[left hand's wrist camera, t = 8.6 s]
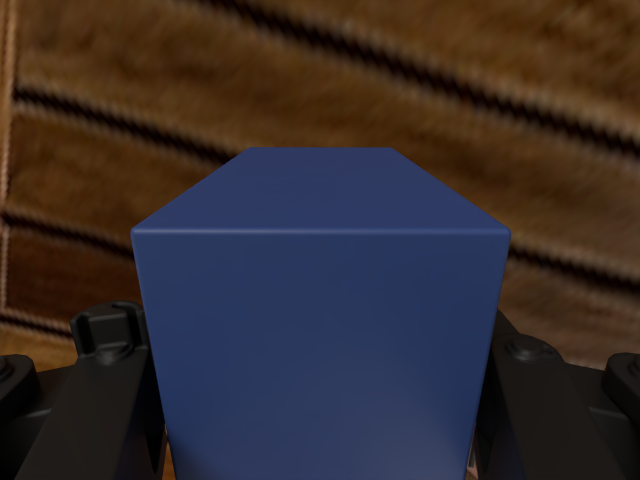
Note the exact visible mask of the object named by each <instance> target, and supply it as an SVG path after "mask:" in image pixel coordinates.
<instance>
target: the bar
mask: <svg viewBox="0 0 640 480" xmlns="http://www.w3.org/2000/svg"><path fill="white" fill-rule="evenodd" d="M131 240H132V246H133V251H134V257H135V262H136V267H137V273H138V278H139V284H140V289H141V294H142V300H143V305H144V311H145V316H146V321H147V327H148V332H149V338H150V343H151V348H152V354H153V359H154V365H155V370H156V375H157V381H158V386H159V392H160V397H161V402H162V408H163V413H164V419H165V424H166V429H167V435H168V440H169V446H170V451H171V456H172V462H173V467H174V473H175V478H176V480H465V475H466V470H467V465H468V460H469V454H470V449H471V444H472V439H473V433H474V428H475V423H476V418H477V413H478V407H479V402H480V397H481V392H482V386H483V381H484V376H485V371H486V365H487V360H488V355H489V350H490V344H491V339H492V334H493V329H494V323H495V318H496V313H497V308H498V303H499V297H500V292H501V287H502V282H503V276H504V271H505V266H506V261H507V255H508V250H509V245H510V240H511V231H510V229H509V228H507V227H506V226H505V225H503V224H502V223H500V222H499V221H497V220H496V219H494V218H493V217H491V216H490V215H489V214H487V213H486V212H484V211H483V210H481V209H480V208H478V207H477V206H475V205H474V204H473V203H471V202H470V201H468V200H467V199H465V198H464V197H462V196H461V195H459V194H458V193H457V192H455V191H454V190H452V189H451V188H449V187H448V186H446V185H445V184H444V183H442V182H441V181H439V180H438V179H436V178H435V177H433V176H432V175H430V174H429V173H428V172H426V171H425V170H423V169H422V168H420V167H419V166H417V165H416V164H414V163H413V162H412V161H410V160H409V159H407V158H406V157H404V156H403V155H401V154H400V153H398V152H397V151H396V150H394V149H393V148H325V147H250V148H248V149H246V150H245V151H244V152H242V153H241V154H239V155H238V156H236V157H235V158H233V159H232V160H230V161H229V162H228V163H226V164H225V165H223V166H222V167H220V168H219V169H217V170H216V171H215V172H213V173H212V174H210V175H209V176H207V177H206V178H204V179H203V180H201V181H200V182H199V183H197V184H196V185H194V186H193V187H191V188H190V189H188V190H187V191H186V192H184V193H183V194H181V195H180V196H178V197H177V198H175V199H174V200H172V201H171V202H170V203H168V204H167V205H165V206H164V207H162V208H161V209H159V210H158V211H157V212H155V213H154V214H152V215H151V216H149V217H148V218H146V219H145V220H143V221H142V222H141V223H139V224H138V225H136V226H135V227H133V228H132V230H131Z"/></svg>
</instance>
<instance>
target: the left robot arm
mask: <svg viewBox="0 0 640 480" xmlns="http://www.w3.org/2000/svg"><path fill="white" fill-rule="evenodd" d="M69 324H70V328H71V331H72V335H73V339H74V342H75V346H76V350H77V353H78V359H77V361H76V363H75V365H71V366H67V367H62V368H57V369H52V370H47V371H42V372H36V369H35V366H34V363H33V360H32V359H31V358H29V357H28V356H26V355H18V354H13V355H5V356H0V480H162V476H163V469H164V461H165V454H166V447H167V436H166V430H165V419H164V413H163V408H162V402H161V397H160V392H159V386H158V381H157V375H156V370H155V365H154V359H153V354H152V348H151V343H150V338H149V332H148V327H147V321H146V316H145V311H144V309H143V308H142V306H141V305H140V304H138V303H137V302H133V301H128V300H119V301H110V302H105V303H100V304H98V305H95V306H92V307H89V308H87V309H85V310H83V311H81V312H80V313H78V314H76V315H75V316H74V317H73V318H72V319H71V320H70V321H69ZM475 460H476V468H477V475H478V480H640V354H634V353H626V352H625V353H617V354H614V355H612V356H611V357H610V358H609V359H608V362H607V365H606V368H605V371H603V370H597V369H592V368H587V367H582V366H577V365H572V364H568V363H565V362H564V360H563V358H562V356H561V355H560V354H559V353H558V352H557V350H556V349H555V348H553V347H552V346H550V345H549V344H547V343H546V342H544V341H542V340H539V339H537V338H535V337H532V336H529V335H524V334H520V333H519V332H518V331H517V330H516V329H515V328H514V326H513V325H512V324H511V323H510V322H509V321H508V319H507V318H506V317H505V316H504V315H503V313H502V312H501V311H500V310H498V308H497V313H496V318H495V323H494V329H493V334H492V339H491V344H490V350H489V355H488V360H487V365H486V371H485V376H484V381H483V386H482V392H481V397H480V402H479V407H478V413H477V418H476V425H475V430H474V435H473V441H472V446H471V451H470V457H469V463H468V467H471V468H473V467H474V462H475Z"/></svg>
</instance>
